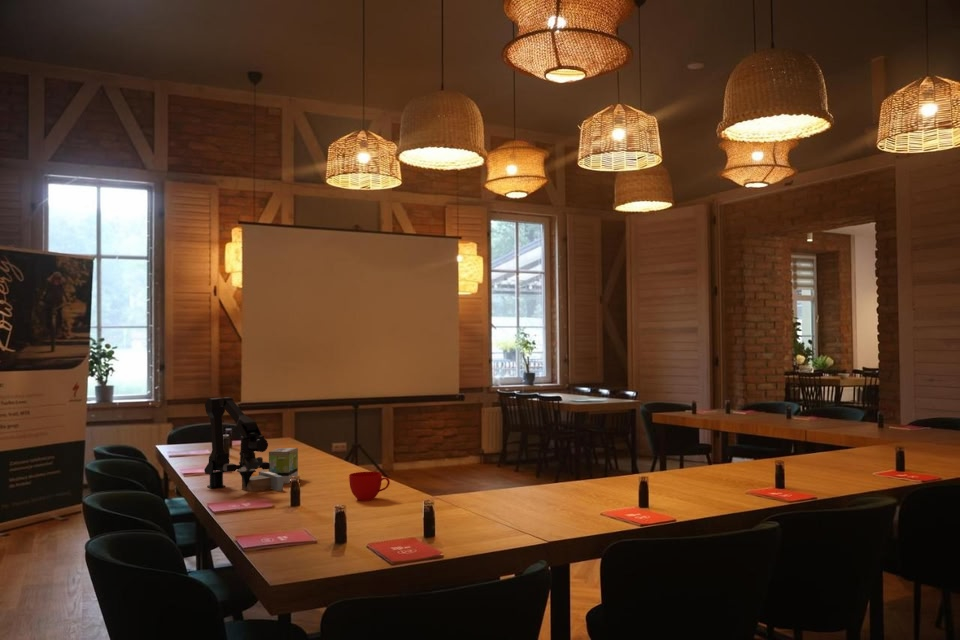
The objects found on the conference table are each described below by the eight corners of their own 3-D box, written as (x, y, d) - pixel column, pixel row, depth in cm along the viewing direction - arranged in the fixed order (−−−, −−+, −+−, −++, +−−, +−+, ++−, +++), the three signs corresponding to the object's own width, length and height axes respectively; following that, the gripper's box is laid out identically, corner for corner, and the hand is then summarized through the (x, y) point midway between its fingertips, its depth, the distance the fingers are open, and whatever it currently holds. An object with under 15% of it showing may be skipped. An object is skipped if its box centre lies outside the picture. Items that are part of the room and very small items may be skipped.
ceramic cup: (382, 503, 294) (381, 477, 295) (343, 501, 300) (343, 476, 300) (396, 497, 306) (396, 472, 307) (359, 495, 312) (358, 471, 312)
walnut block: (241, 489, 333) (241, 478, 334) (260, 486, 340) (260, 475, 340) (251, 491, 327) (251, 480, 327) (270, 489, 333) (270, 477, 333)
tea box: (289, 483, 346) (289, 451, 347) (267, 484, 346) (267, 451, 347) (298, 478, 361) (298, 446, 362) (277, 478, 361) (277, 447, 362)
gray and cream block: (258, 484, 344) (258, 470, 345) (264, 484, 346) (264, 470, 346) (277, 491, 327) (277, 476, 327) (283, 490, 328) (283, 475, 329)
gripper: (231, 453, 316) (230, 491, 315) (275, 451, 327) (273, 487, 326) (223, 450, 325) (221, 487, 324) (265, 448, 336) (264, 484, 335)
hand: (245, 486), depth 327 cm, fingers closed
